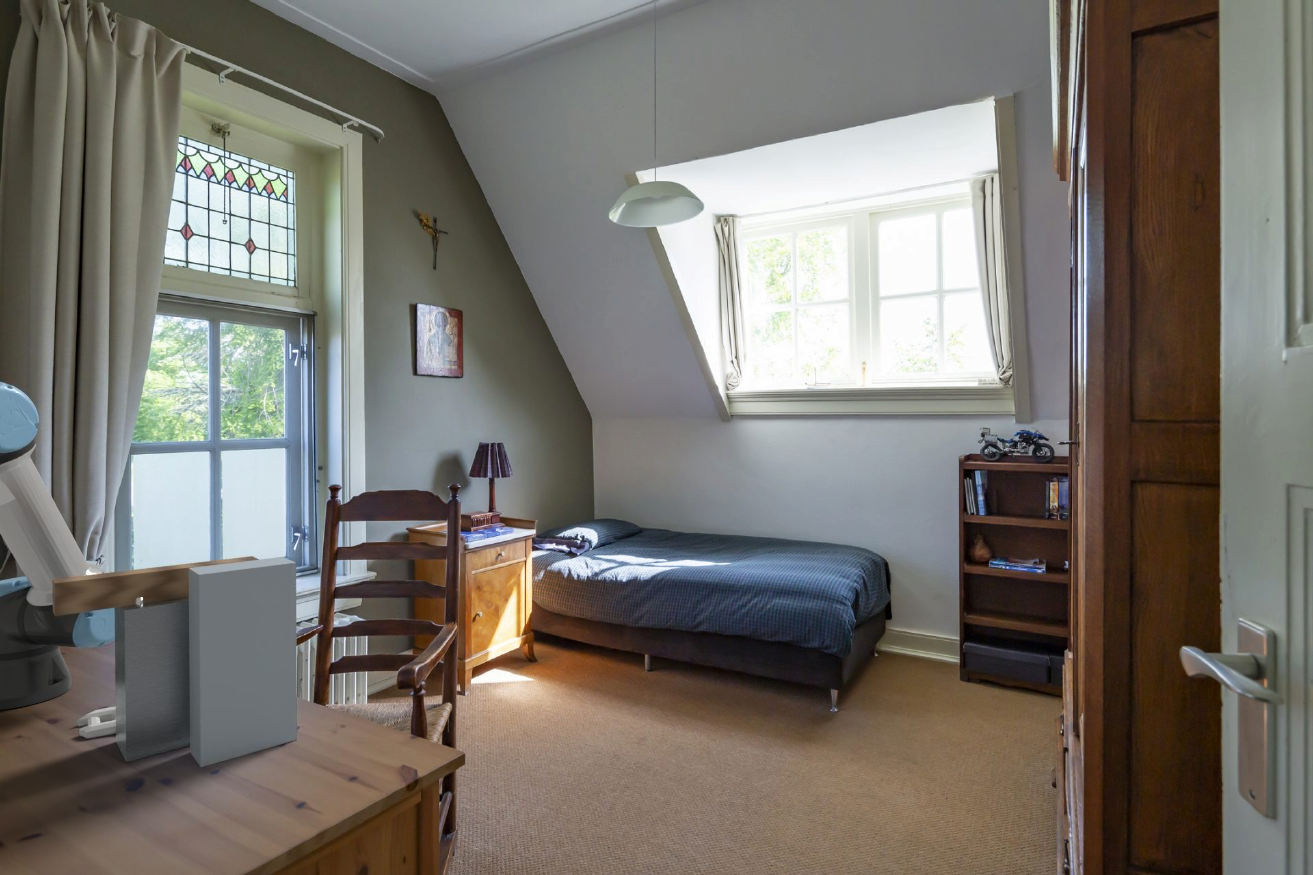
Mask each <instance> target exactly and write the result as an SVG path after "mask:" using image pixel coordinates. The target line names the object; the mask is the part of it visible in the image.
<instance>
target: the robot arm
mask: <svg viewBox="0 0 1313 875" xmlns="http://www.w3.org/2000/svg"><path fill="white" fill-rule="evenodd" d="M39 423H40V417H39V413H38V409H37V407H36V405H35V404H34V402H33V401H32V400H31V399H30V398H29V396H28V395H27V394H26V393H25V392H23V391H22V390H21V389H19V388H18V387H16V386H14V385H11V384H8V383H6V382H2V381H0V536H1V538H2V539H3V540H4V543H6V546H7V548H8V549H9V550H10V552H11V554H12V556H13V557H14V559H15V561H16V562H17V564H18V566H19V568H20V569H21V571H22V573H23V574H24V576H19V577H13V578H8V579H2V580H0V711H1V710H9V709H16V708H21V707H25V706H31V705H34V704H38V703H42V702H45V701H48V700H51V699H54V698H57V697H59V696H62V695H64V694H66V693H67V692H69V691H70V689H71V688H72V674H71V671H70V670H69V668H68V666H67V663H66V661H65V658H64V656H63V655H62V651H61V648H60V647H69V648H79V649H86V648H100V647H103V646H104V647H105V646H106V645H109V644H110V643H112V642H113V643H114V642H115V611H114V608H110V609H103V610H96V611H89V612H82V613H75V614H68V615H61V616H55V615H54V613H53V589H52V579H58V578H67V577H75V576H84V575H93V574H101V573H105V572H104V570H103V569H102V567H101V566H99V565H97V564H95V563H94V564H93V563H88V562H87V560H86V558H85V556H84V555H83V552H82V550H81V549H80V547H79V545H78V543H77V541H76V540H75V538H74V535H73V534H72V532H71V530H70V529H69V526H68V524H67V523H66V521H65V519H64V517H63V515H62V513H61V512H60V510H59V508H58V506H57V504H56V502H55V500H54V499H53V497H52V495H51V493H50V491H49V490H48V487H47V486H46V484H45V482H44V480H43V478H42V476H41V474H40V473H39V471H38V469H37V467H36V465H35V463H34V461H33V460H32V457H31V455H32V453H33V452H34V450H35V449H36V446H37V444H36V442H35V440H34V439H35V437H36V436H37V433H38V431H39V429H38V428H37V425H39Z"/></svg>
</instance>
